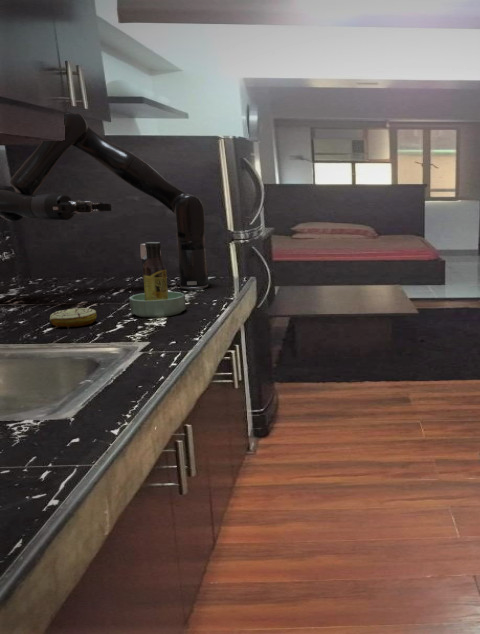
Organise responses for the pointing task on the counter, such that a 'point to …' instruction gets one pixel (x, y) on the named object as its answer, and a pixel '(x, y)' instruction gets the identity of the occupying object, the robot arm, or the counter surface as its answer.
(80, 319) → the decorated donut
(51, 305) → the counter surface
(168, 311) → the bowl
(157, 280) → the sauce bottle
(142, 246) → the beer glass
